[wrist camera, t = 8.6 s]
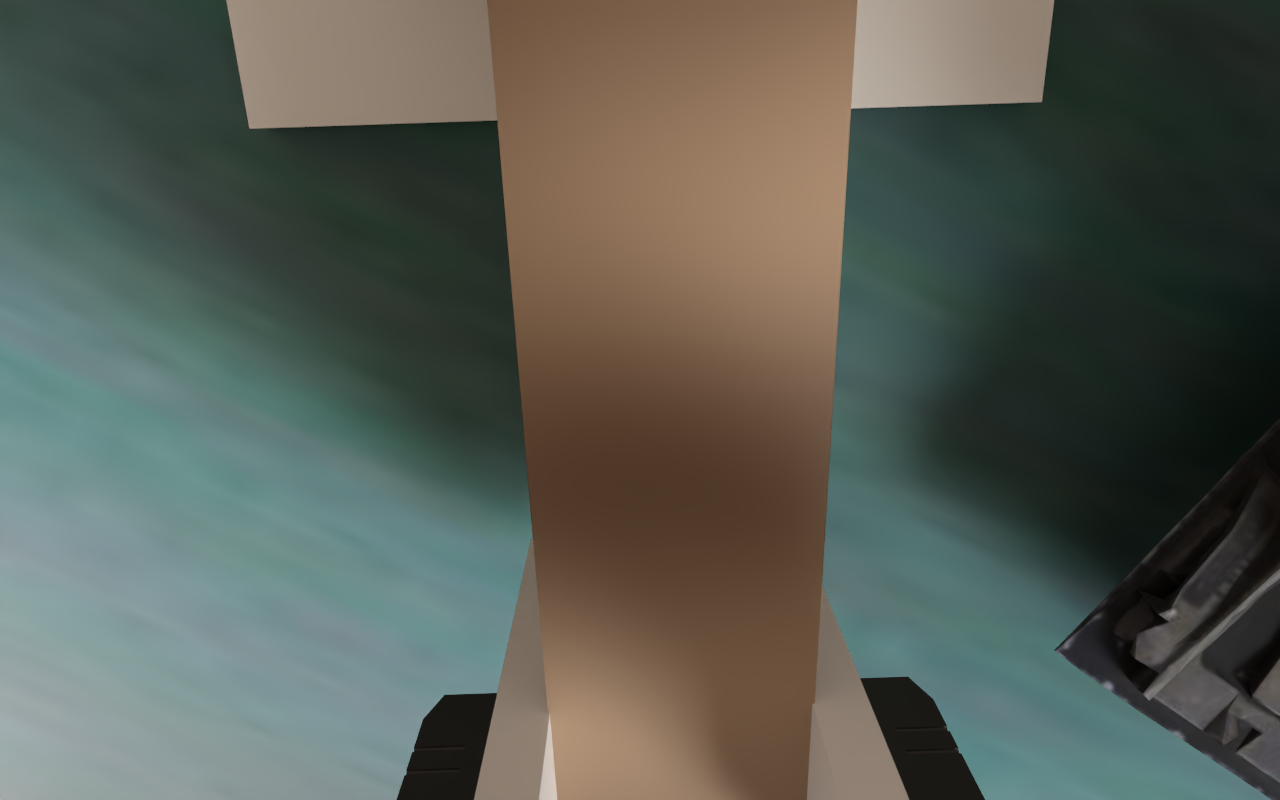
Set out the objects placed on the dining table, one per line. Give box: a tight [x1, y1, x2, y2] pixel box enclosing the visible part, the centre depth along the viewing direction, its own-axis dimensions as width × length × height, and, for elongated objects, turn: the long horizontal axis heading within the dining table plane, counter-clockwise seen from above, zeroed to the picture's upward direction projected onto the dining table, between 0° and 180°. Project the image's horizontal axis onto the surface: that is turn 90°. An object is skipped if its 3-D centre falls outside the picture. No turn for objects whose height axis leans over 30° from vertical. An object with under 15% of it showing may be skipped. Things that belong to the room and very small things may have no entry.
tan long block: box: [487, 0, 858, 800], centre depth 12 cm, size 15×6×5 cm, turn 1°
